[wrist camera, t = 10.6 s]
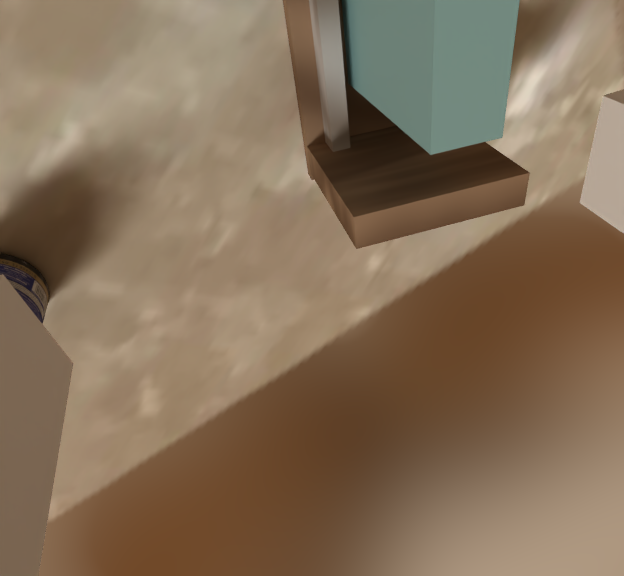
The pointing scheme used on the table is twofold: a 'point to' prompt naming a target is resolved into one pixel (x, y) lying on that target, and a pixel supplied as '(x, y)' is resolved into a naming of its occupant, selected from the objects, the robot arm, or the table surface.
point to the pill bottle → (26, 283)
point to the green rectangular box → (434, 65)
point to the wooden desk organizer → (382, 147)
